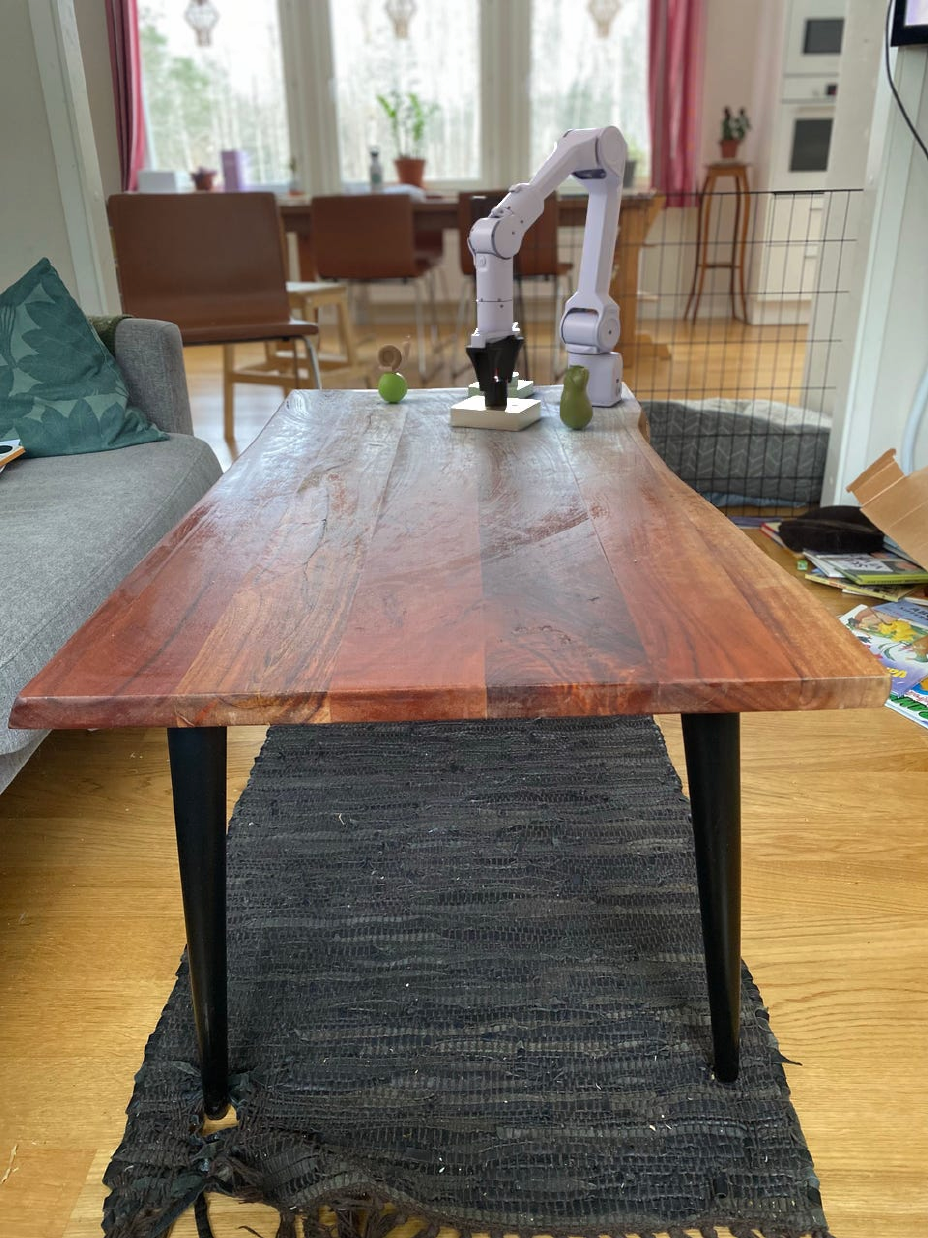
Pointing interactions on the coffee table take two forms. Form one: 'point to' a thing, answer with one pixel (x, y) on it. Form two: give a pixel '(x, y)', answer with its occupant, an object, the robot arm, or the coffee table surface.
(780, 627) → the coffee table surface
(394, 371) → the snail figurine
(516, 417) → the panel
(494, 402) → the stove knob
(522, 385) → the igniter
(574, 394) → the pear
